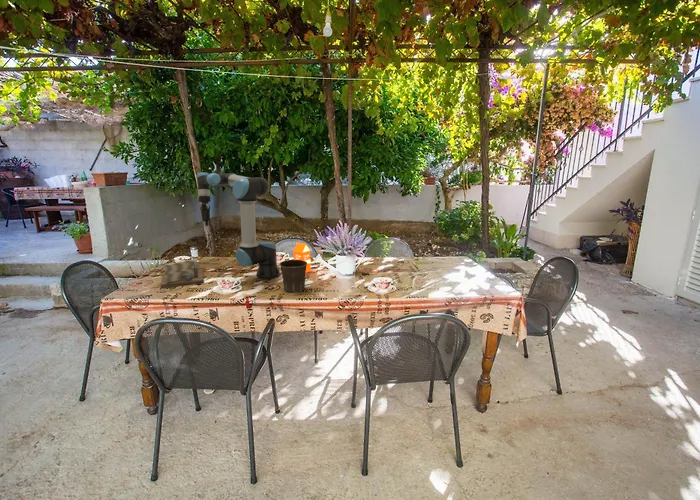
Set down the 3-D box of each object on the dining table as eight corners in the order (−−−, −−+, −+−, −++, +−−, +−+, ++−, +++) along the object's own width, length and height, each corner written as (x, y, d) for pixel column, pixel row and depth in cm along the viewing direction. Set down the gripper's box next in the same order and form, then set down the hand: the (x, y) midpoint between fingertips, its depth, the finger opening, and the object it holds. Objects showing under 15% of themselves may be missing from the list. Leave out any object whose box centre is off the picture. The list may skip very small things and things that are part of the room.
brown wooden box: (203, 283, 230) (201, 261, 227) (161, 288, 221) (158, 266, 218) (202, 271, 255) (200, 251, 252) (163, 275, 246) (161, 255, 243)
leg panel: (193, 276, 237) (191, 259, 234) (194, 276, 235) (193, 260, 233) (165, 282, 225) (163, 264, 222) (167, 282, 223) (164, 265, 221)
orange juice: (303, 273, 250) (302, 244, 245) (293, 271, 255) (292, 243, 250) (311, 270, 256) (310, 242, 251) (301, 268, 261) (300, 241, 256)
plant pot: (310, 292, 214) (309, 265, 210) (282, 295, 209) (281, 268, 206) (305, 283, 229) (304, 258, 225) (279, 286, 224) (278, 260, 221)
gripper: (213, 195, 246) (215, 230, 247) (206, 197, 256) (208, 231, 257) (201, 194, 241) (204, 230, 243) (195, 196, 251) (197, 231, 253)
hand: (206, 230), depth 250 cm, fingers closed
